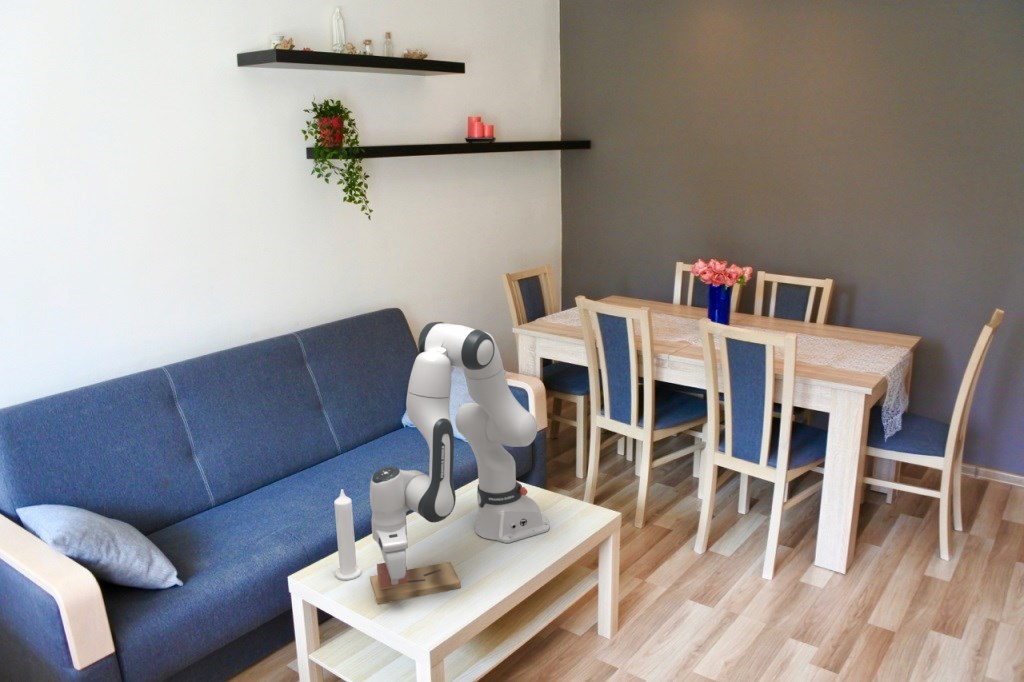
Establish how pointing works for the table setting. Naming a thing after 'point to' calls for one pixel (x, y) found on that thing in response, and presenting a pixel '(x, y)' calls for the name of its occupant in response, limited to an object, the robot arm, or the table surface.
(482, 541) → the table surface
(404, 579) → the block
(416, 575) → the plank
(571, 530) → the table surface
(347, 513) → the candle
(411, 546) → the table surface
